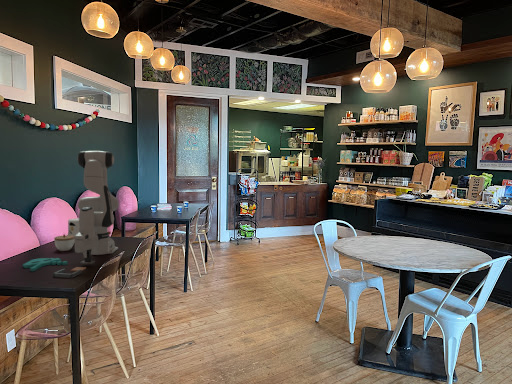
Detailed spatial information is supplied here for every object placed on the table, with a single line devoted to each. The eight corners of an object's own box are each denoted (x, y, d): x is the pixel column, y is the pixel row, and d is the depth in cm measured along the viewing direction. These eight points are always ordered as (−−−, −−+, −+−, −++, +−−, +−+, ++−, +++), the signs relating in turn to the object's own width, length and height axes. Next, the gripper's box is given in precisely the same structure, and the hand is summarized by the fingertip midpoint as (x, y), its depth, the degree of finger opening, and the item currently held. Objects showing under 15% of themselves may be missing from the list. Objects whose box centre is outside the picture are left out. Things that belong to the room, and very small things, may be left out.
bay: (63, 272, 215) (63, 268, 214) (81, 273, 213) (81, 269, 213) (53, 276, 206) (53, 273, 206) (71, 278, 204) (71, 274, 204)
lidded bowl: (78, 248, 273) (77, 233, 272) (67, 252, 260) (67, 236, 259) (61, 247, 274) (61, 232, 273) (50, 251, 262) (50, 235, 261)
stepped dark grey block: (84, 261, 231) (84, 249, 230) (95, 262, 230) (94, 249, 229) (80, 263, 227) (80, 250, 226) (91, 263, 226) (91, 250, 225)
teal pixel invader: (67, 265, 231) (53, 259, 243) (67, 261, 230) (53, 256, 243) (31, 272, 215) (18, 265, 228) (31, 268, 215) (18, 261, 228)
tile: (76, 269, 223) (76, 267, 223) (86, 269, 223) (86, 267, 223) (71, 272, 217) (70, 270, 217) (81, 272, 217) (81, 270, 217)
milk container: (62, 243, 286) (61, 220, 284) (80, 239, 302) (80, 217, 300) (78, 246, 279) (78, 222, 278) (97, 241, 295) (96, 219, 293)
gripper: (91, 231, 238) (92, 252, 239) (72, 237, 217) (72, 260, 218) (101, 231, 237) (101, 253, 238) (82, 237, 217) (82, 261, 218)
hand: (87, 256), depth 228 cm, fingers closed on stepped dark grey block, 2 cm apart
